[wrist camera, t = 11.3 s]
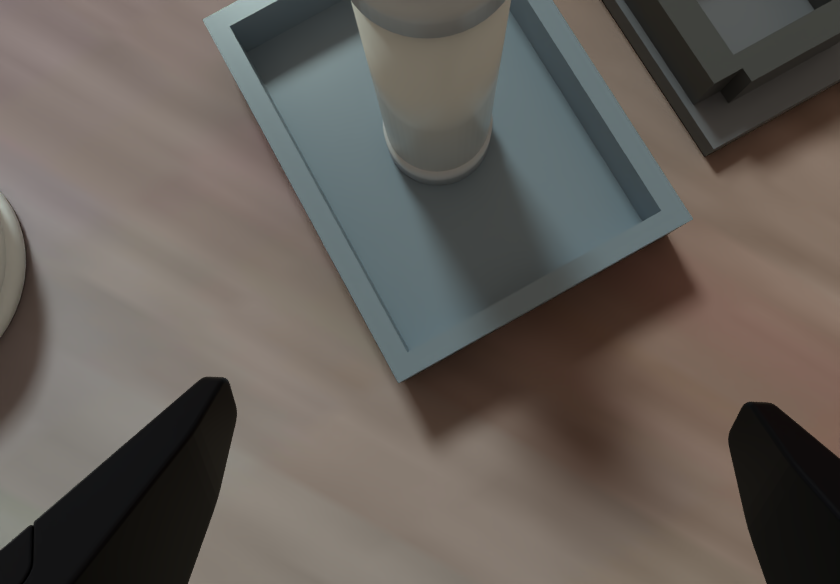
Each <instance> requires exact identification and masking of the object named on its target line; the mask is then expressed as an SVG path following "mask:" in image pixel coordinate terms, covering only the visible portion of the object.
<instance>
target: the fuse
mask: <svg viewBox="0 0 840 584" xmlns="http://www.w3.org/2000/svg"><path fill="white" fill-rule="evenodd" d="M351 3H352V7H353V11H354V14H355V18H356V22H357V26H358V29H359V33H360V37H361V40H362V44H363V48H364V52H365V55H366V59H367V63H368V66H369V70H370V74H371V78H372V81H373V85H374V89H375V93H376V96H377V100H378V104H379V107H380V111H381V115H382V119H383V131H384V136H385V140H386V143H387V147H388V150H389V153H390V156H391V158H392V160H393V161H394V163H395V164H396V166H397V167H398V168H399V169H400V170H401V171H402V172H403V173H404V174H405V175H406V176H408V177H409V178H411V179H413V180H415V181H417V182H420V183H423V184H427V185H436V186H438V185H448V184H452V183H455V182H458V181H460V180H462V179H464V178H466V177H467V176H469V175H470V174H471V173H473V172H474V171H475V170H476V169H477V168H478V167H479V165H480V164H481V163H482V161H483V159H484V158H485V156H486V153H487V151H488V147H489V143H490V137H491V132H492V124H493V118H492V110H493V104H494V98H495V92H496V86H497V81H498V75H499V69H500V63H501V57H502V51H503V45H504V39H505V33H506V27H507V21H508V15H509V9H510V3H511V0H351Z"/></svg>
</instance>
